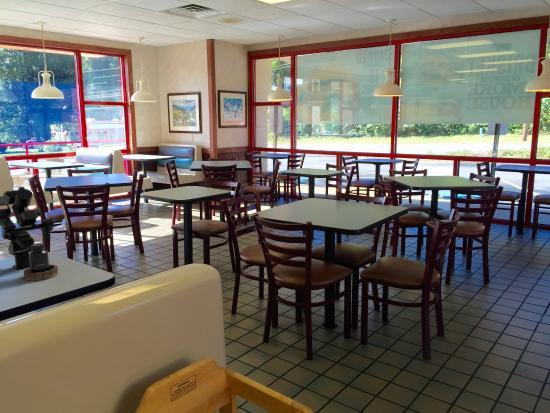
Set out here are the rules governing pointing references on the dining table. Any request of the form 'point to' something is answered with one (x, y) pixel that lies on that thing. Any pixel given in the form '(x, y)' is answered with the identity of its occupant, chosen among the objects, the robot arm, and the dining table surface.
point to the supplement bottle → (39, 258)
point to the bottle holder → (41, 274)
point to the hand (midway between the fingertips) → (36, 245)
